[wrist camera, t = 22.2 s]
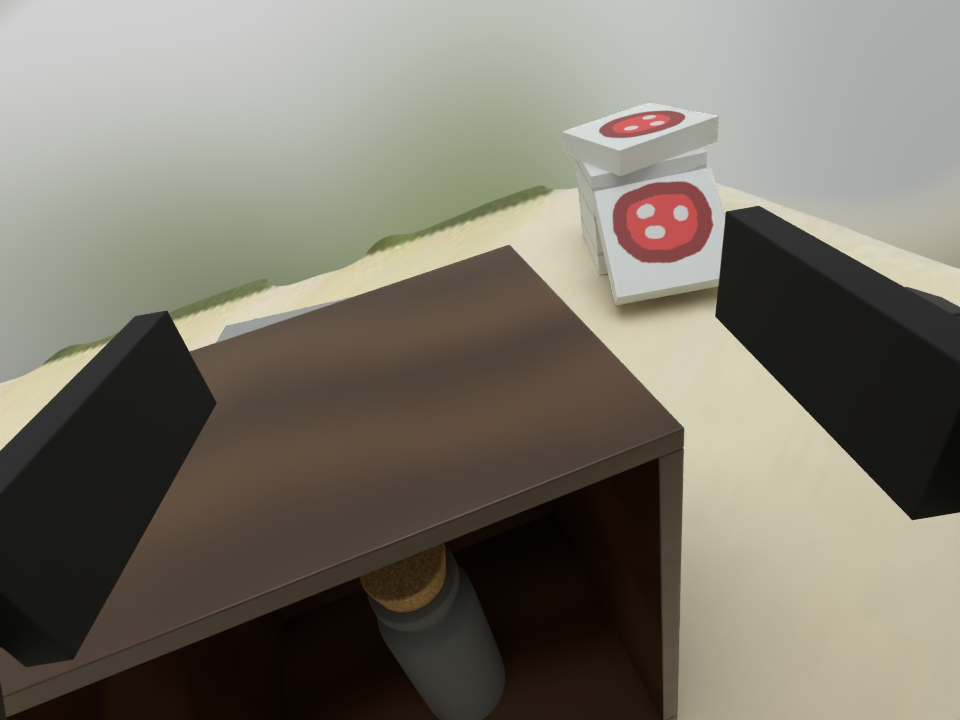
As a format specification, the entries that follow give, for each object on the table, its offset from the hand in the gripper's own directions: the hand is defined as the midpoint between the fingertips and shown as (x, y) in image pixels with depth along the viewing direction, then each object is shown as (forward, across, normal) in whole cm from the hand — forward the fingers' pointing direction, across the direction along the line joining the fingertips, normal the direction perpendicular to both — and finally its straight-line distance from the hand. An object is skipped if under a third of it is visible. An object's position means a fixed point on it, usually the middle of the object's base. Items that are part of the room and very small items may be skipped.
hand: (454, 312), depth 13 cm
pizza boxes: (+61, +27, -29) cm, 73 cm away
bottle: (+8, -5, -33) cm, 34 cm away
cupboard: (+10, -6, -33) cm, 35 cm away
